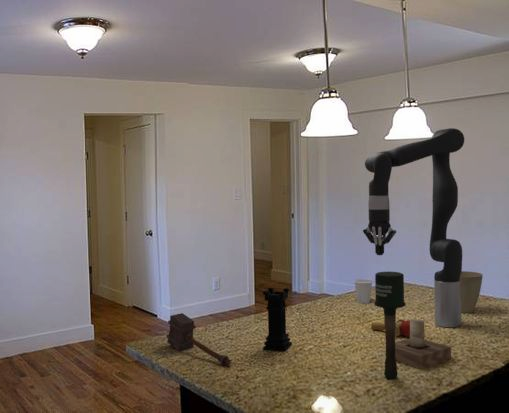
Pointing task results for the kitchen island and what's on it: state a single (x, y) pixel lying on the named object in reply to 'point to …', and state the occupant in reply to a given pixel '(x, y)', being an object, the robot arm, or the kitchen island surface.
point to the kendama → (400, 327)
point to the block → (422, 354)
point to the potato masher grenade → (390, 312)
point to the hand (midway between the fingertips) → (379, 255)
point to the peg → (417, 334)
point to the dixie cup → (363, 290)
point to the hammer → (188, 337)
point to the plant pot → (469, 290)
